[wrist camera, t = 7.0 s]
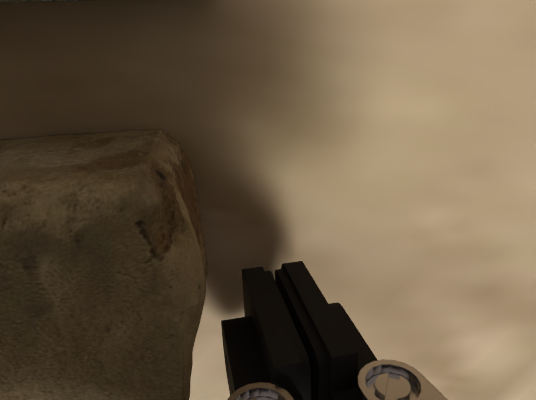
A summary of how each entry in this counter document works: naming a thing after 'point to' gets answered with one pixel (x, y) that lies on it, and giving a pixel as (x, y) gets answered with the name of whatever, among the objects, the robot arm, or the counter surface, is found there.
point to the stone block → (98, 267)
